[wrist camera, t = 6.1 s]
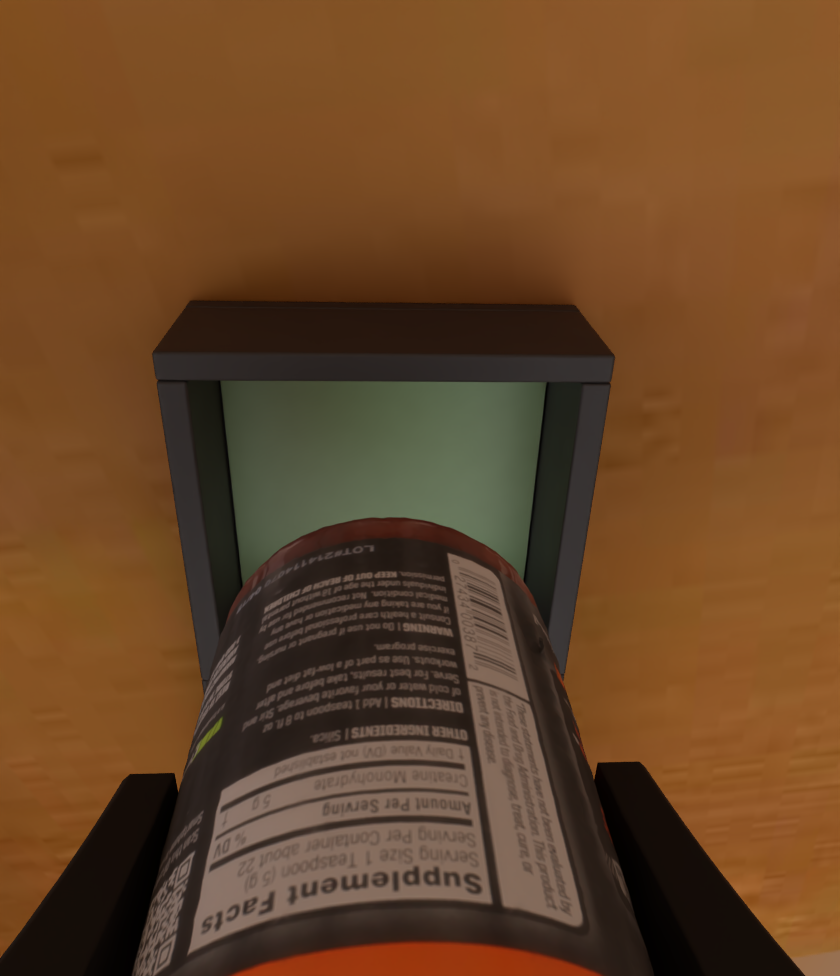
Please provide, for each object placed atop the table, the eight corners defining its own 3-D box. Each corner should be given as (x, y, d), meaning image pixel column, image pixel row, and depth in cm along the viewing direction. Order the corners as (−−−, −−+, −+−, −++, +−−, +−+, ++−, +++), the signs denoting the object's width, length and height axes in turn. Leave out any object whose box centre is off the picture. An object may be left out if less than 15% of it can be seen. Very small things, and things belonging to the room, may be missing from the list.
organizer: (512, 797, 27) (530, 893, 24) (251, 804, 26) (235, 902, 23) (576, 304, 18) (616, 355, 15) (188, 300, 18) (150, 352, 15)
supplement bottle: (523, 745, 16) (755, 1820, 6) (236, 748, 16) (10, 1903, 6) (563, 501, 13) (1111, 1799, 3) (211, 496, 13) (-315, 1962, 3)
